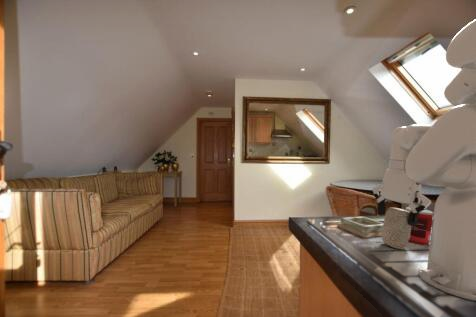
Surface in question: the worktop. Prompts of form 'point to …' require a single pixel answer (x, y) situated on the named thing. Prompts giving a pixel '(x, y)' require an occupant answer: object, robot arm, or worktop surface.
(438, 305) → the worktop surface
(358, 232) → the beige shallow tray
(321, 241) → the worktop surface
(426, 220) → the canned food
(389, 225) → the carving
